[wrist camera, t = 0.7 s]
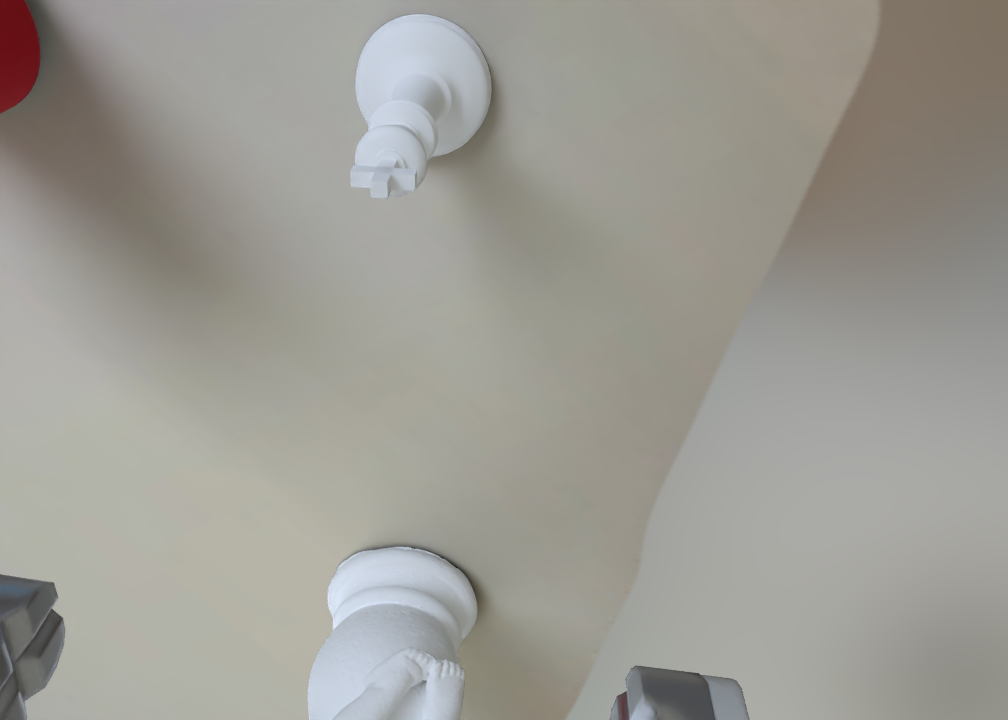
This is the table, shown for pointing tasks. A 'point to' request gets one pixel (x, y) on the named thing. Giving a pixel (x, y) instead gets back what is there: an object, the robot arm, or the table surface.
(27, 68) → the beverage can
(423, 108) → the chess piece
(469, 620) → the cherub figurine
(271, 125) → the table surface
